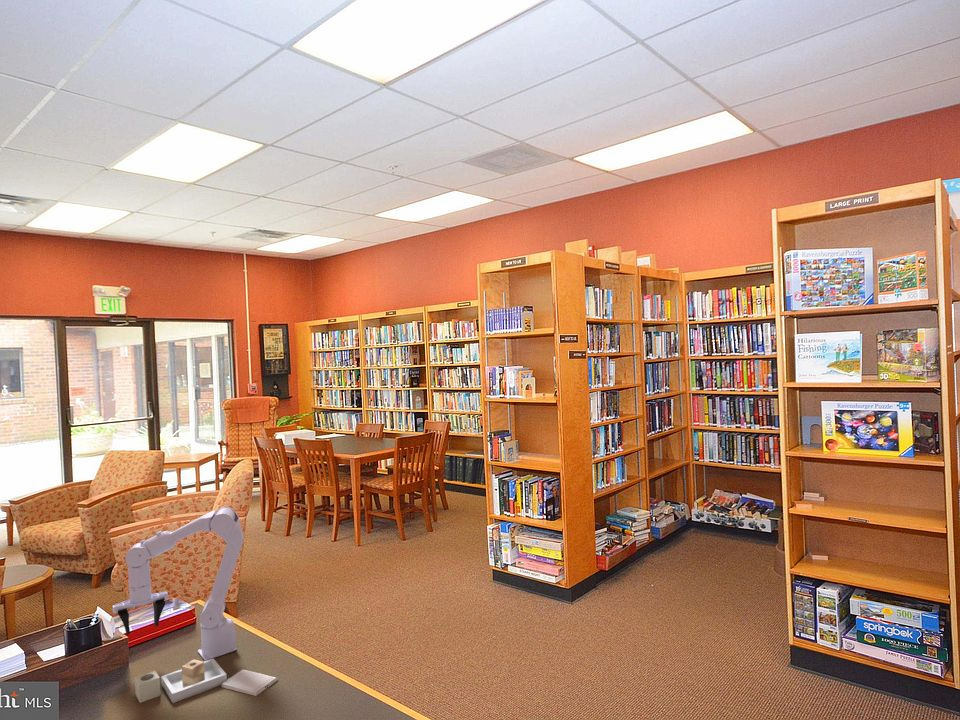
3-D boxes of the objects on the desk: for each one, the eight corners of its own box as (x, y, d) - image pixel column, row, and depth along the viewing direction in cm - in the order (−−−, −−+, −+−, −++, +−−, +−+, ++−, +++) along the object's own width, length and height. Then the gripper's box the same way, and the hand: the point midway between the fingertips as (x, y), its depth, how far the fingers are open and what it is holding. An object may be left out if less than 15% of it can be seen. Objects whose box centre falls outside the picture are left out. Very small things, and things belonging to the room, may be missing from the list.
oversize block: (156, 688, 170) (155, 670, 170) (160, 695, 166) (159, 677, 166) (135, 695, 167) (134, 677, 166) (139, 703, 163) (138, 684, 163)
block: (194, 676, 174) (193, 659, 174) (204, 679, 172) (203, 661, 172) (182, 684, 170) (181, 666, 170) (192, 686, 169) (192, 668, 168)
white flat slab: (221, 683, 169) (255, 691, 164) (243, 668, 177) (277, 676, 172) (221, 689, 169) (256, 698, 164) (243, 674, 177) (277, 682, 172)
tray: (213, 666, 180) (213, 658, 180) (226, 682, 171) (226, 674, 171) (161, 685, 171) (161, 676, 171) (172, 703, 162) (172, 693, 162)
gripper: (163, 574, 191) (165, 617, 191) (109, 587, 181) (112, 632, 182) (169, 580, 185) (171, 624, 186) (114, 594, 176) (116, 641, 176)
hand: (142, 629), depth 183 cm, fingers open, 7 cm apart
